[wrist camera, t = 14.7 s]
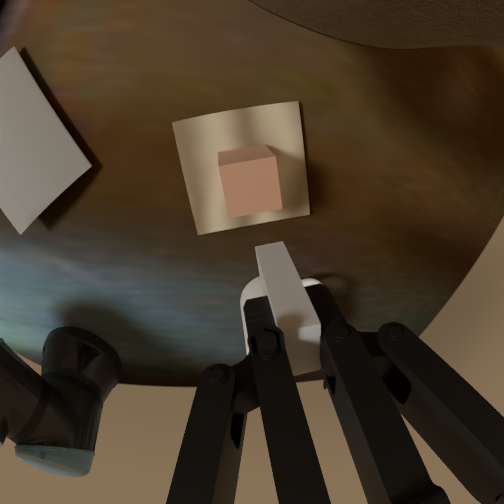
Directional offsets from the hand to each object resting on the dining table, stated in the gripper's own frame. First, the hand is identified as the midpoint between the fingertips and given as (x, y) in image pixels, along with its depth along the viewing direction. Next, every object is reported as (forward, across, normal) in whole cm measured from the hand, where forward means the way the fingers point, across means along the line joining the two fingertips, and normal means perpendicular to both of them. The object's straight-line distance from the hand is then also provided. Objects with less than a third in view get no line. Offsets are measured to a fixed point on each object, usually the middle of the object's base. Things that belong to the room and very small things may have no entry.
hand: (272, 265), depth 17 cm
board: (+21, +1, 0) cm, 21 cm away
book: (+22, -27, +12) cm, 37 cm away
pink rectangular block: (+20, +1, 0) cm, 20 cm away
